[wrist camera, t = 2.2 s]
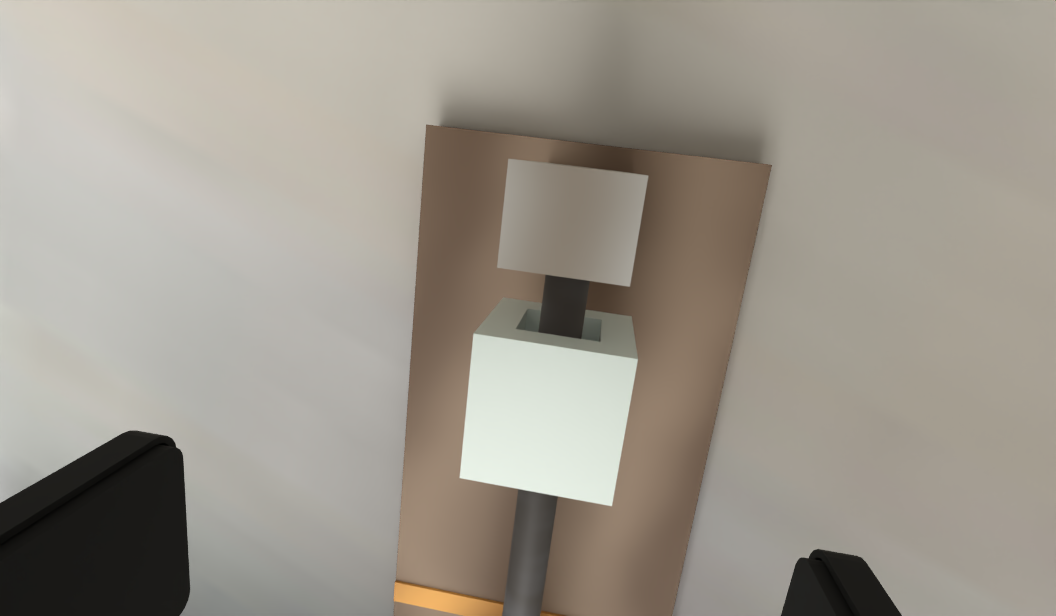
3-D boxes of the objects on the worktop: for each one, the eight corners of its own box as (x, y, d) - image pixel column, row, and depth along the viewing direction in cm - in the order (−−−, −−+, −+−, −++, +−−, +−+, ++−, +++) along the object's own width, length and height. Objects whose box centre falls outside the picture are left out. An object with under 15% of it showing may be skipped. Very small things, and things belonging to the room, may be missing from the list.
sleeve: (631, 316, 17) (637, 359, 13) (611, 434, 18) (611, 506, 14) (503, 297, 18) (473, 333, 14) (490, 413, 19) (459, 478, 15)
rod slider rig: (760, 165, 20) (885, 162, 11) (632, 753, 27) (644, 1046, 18) (438, 127, 21) (311, 96, 12) (397, 698, 29) (297, 946, 19)
